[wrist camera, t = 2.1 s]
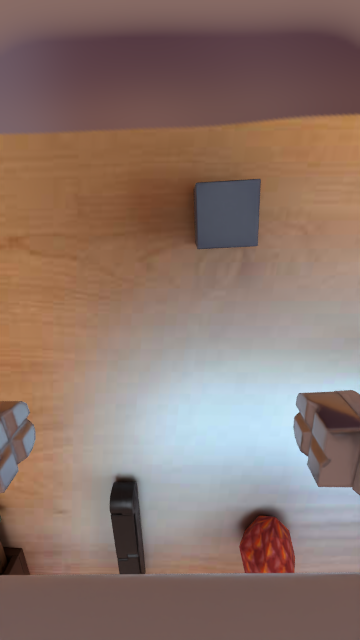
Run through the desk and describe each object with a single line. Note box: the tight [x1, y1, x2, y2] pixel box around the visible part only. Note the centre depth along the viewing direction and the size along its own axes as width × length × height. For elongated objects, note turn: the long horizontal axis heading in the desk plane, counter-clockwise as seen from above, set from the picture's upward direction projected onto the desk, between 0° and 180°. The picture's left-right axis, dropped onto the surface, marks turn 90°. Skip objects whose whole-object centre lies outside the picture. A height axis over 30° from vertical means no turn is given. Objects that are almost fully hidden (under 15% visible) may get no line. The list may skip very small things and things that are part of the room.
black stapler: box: [110, 482, 145, 574], centre depth 33 cm, size 18×3×3 cm, turn 1°
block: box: [194, 179, 261, 249], centre depth 19 cm, size 4×4×4 cm
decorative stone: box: [239, 515, 295, 573], centre depth 31 cm, size 6×7×8 cm
